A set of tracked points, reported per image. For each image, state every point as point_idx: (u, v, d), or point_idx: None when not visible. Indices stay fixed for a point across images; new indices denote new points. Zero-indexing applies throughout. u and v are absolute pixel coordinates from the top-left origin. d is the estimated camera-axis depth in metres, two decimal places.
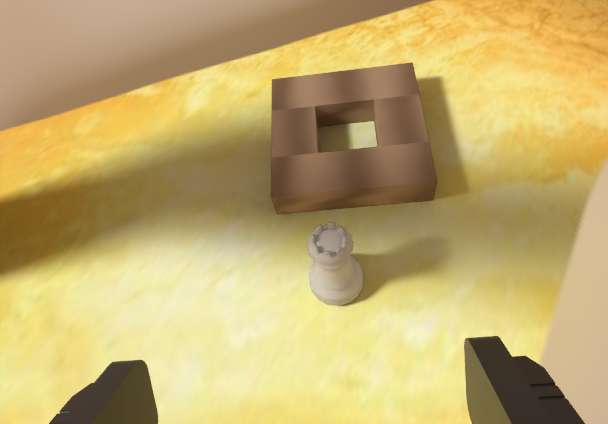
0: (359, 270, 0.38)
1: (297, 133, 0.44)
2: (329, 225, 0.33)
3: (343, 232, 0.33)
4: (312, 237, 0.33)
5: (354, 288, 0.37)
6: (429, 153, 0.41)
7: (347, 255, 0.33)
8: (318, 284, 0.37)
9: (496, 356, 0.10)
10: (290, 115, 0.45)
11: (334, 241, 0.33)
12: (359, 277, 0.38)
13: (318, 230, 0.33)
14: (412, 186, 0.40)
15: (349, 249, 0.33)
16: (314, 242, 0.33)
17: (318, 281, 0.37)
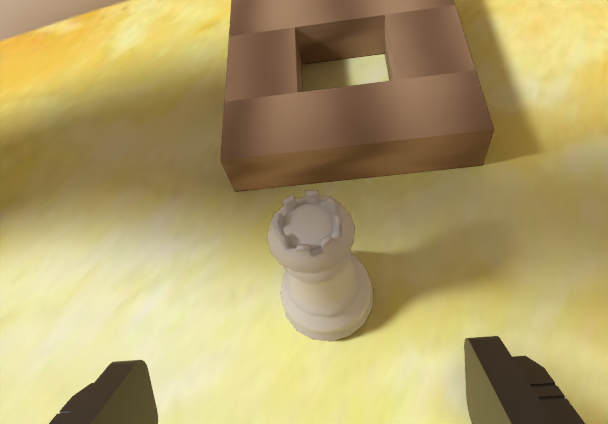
0: (366, 280, 0.22)
1: (267, 66, 0.28)
2: (309, 195, 0.17)
3: (335, 208, 0.17)
4: (275, 218, 0.17)
5: (357, 311, 0.21)
6: (477, 87, 0.25)
7: (344, 252, 0.17)
8: (294, 305, 0.21)
9: (496, 356, 0.10)
10: (256, 41, 0.30)
11: (318, 225, 0.17)
12: (366, 292, 0.22)
13: (288, 206, 0.17)
14: (452, 139, 0.24)
15: (347, 242, 0.17)
16: (280, 228, 0.17)
17: (295, 299, 0.21)
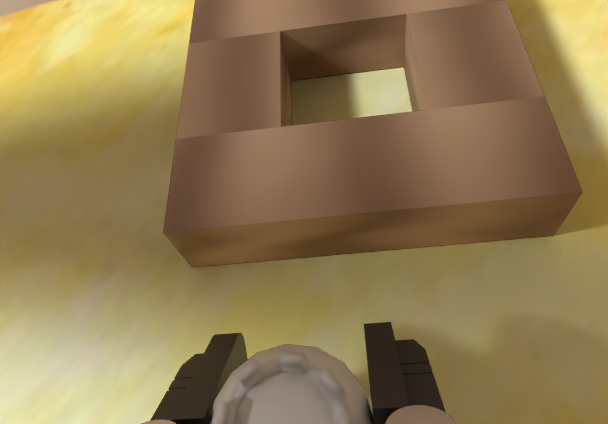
0: None
1: (239, 87, 0.20)
2: (286, 363, 0.09)
3: (338, 394, 0.09)
4: (219, 415, 0.09)
5: None
6: (550, 123, 0.17)
7: None
8: None
9: (381, 338, 0.11)
10: (226, 50, 0.21)
11: None
12: None
13: (245, 383, 0.09)
14: (516, 204, 0.16)
15: None
16: None
17: None
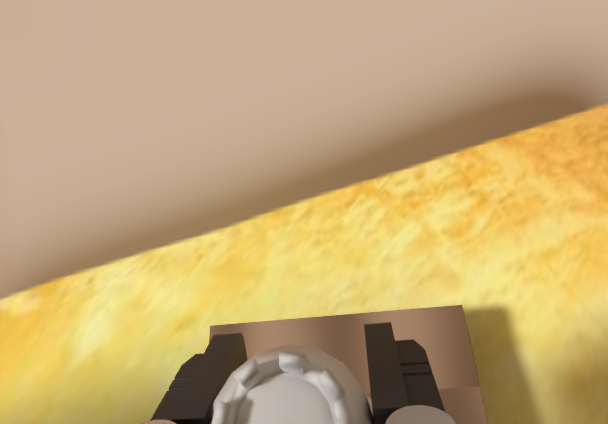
0: None
1: None
2: (286, 364, 0.09)
3: (338, 394, 0.09)
4: (219, 416, 0.09)
5: None
6: None
7: None
8: None
9: (381, 338, 0.11)
10: None
11: None
12: None
13: (245, 385, 0.09)
14: None
15: None
16: None
17: None
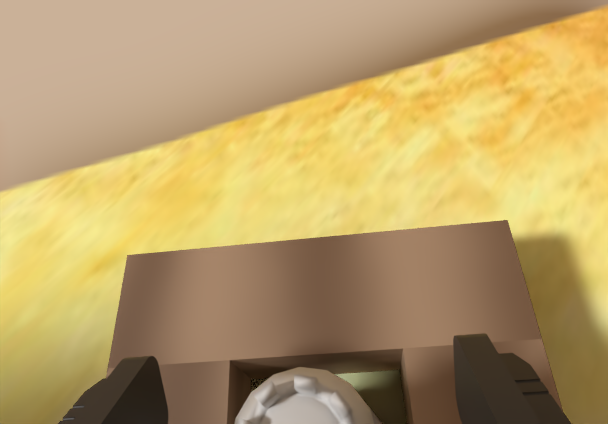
0: None
1: None
2: (300, 386, 0.10)
3: (346, 413, 0.10)
4: None
5: None
6: None
7: None
8: None
9: (483, 353, 0.10)
10: None
11: None
12: None
13: (265, 404, 0.10)
14: None
15: None
16: None
17: None
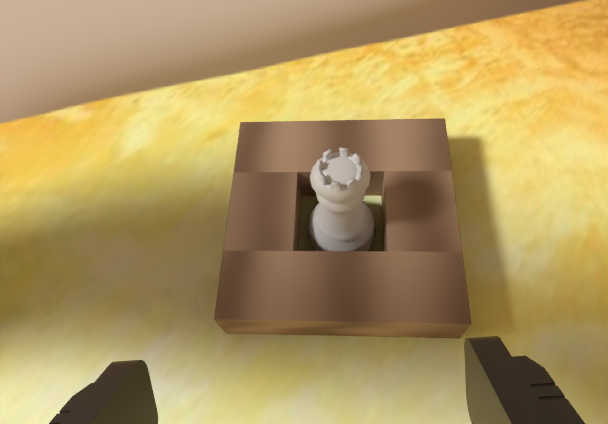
0: (371, 219, 0.30)
1: (266, 215, 0.30)
2: (341, 150, 0.26)
3: (359, 161, 0.25)
4: (318, 163, 0.25)
5: (363, 241, 0.30)
6: (461, 273, 0.27)
7: (361, 191, 0.25)
8: (319, 232, 0.30)
9: (496, 356, 0.10)
10: (259, 183, 0.31)
11: (346, 171, 0.25)
12: (371, 228, 0.30)
13: (327, 156, 0.26)
14: (432, 325, 0.26)
15: (364, 184, 0.25)
16: (320, 171, 0.25)
17: (320, 227, 0.29)
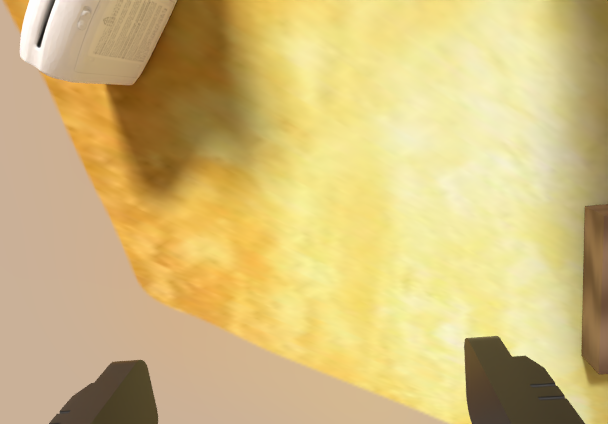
0: None
1: None
2: None
3: None
4: None
5: None
6: None
7: None
8: None
9: (496, 356, 0.10)
10: None
11: None
12: None
13: None
14: (597, 351, 0.40)
15: None
16: None
17: None
